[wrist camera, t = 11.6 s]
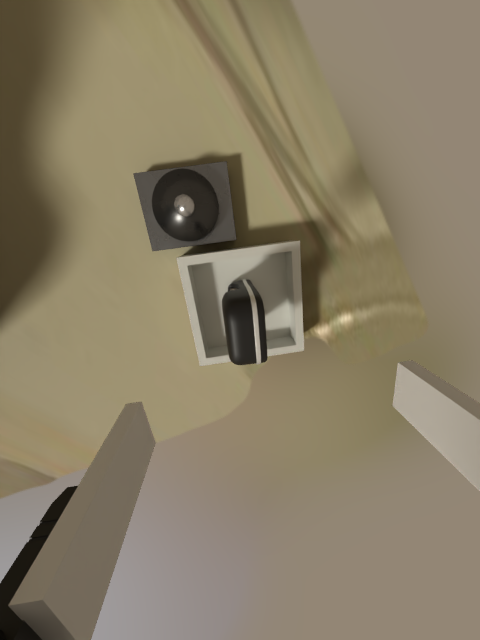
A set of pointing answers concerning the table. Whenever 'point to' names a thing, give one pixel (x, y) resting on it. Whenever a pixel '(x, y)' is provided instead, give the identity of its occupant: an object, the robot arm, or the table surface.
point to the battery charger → (244, 323)
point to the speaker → (187, 205)
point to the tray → (267, 277)
